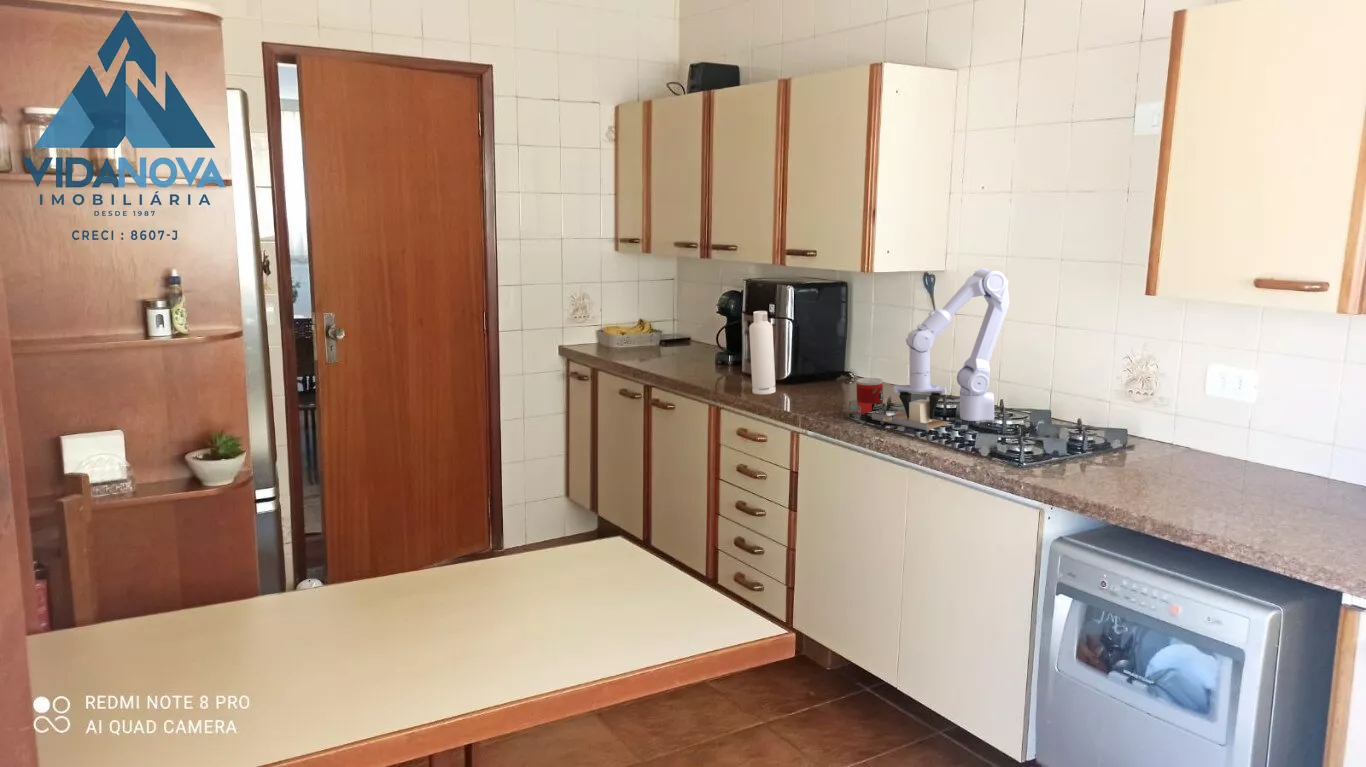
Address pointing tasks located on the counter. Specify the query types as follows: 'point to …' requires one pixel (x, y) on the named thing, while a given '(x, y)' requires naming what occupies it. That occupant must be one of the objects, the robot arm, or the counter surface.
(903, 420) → the shelf
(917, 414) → the carton
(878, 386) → the canned food
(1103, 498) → the counter surface
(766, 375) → the bottle
